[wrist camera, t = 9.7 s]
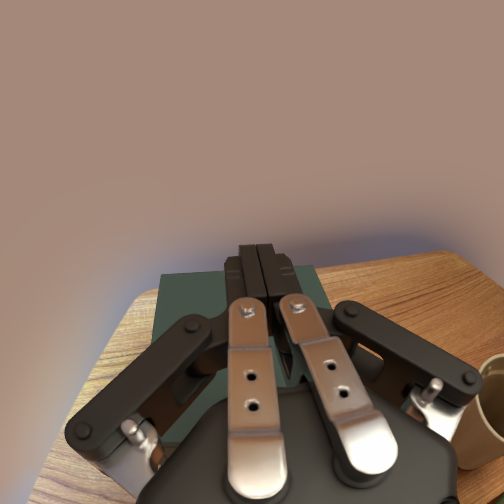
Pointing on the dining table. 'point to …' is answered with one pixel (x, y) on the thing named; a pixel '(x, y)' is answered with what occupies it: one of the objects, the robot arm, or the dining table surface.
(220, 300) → the lid
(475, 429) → the flower pot
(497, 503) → the food container
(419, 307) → the dining table surface
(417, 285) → the dining table surface
